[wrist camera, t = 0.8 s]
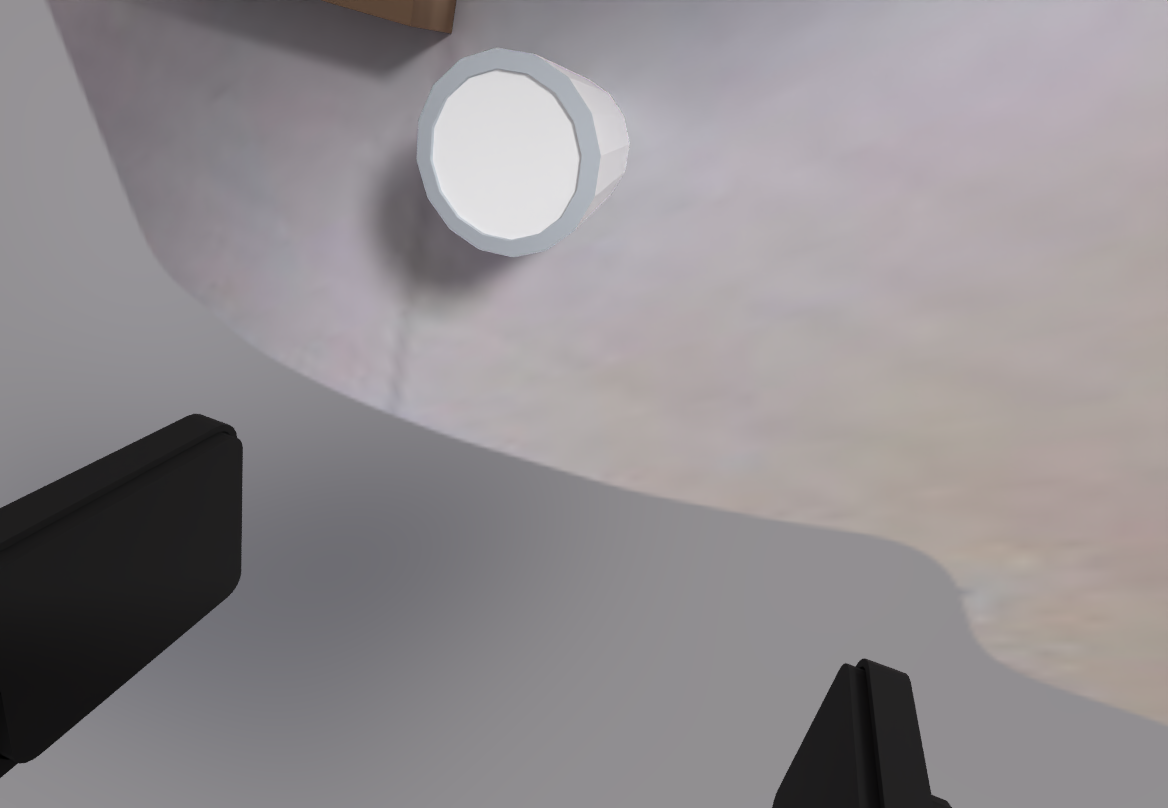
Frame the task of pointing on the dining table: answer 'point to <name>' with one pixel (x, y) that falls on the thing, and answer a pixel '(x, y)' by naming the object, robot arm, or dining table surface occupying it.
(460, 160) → the shot glass
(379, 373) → the dining table surface
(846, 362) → the dining table surface
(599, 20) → the dining table surface
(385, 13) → the tray
